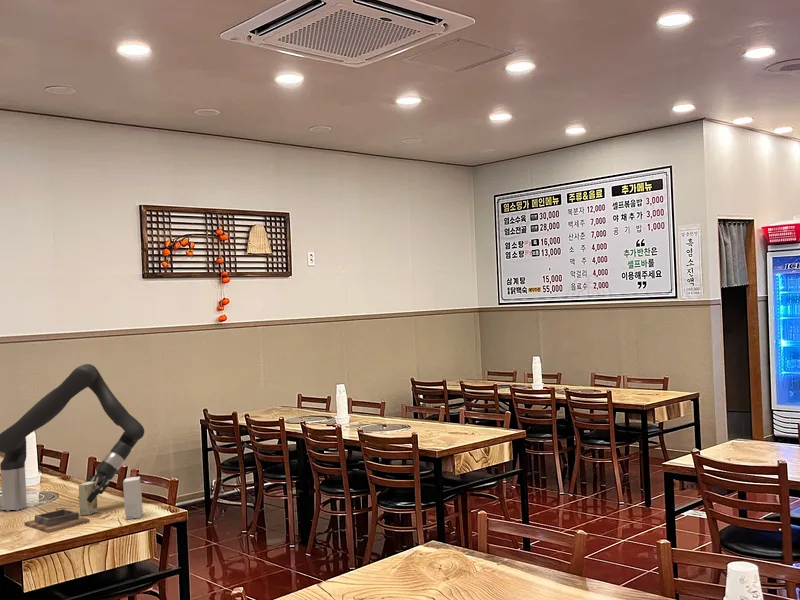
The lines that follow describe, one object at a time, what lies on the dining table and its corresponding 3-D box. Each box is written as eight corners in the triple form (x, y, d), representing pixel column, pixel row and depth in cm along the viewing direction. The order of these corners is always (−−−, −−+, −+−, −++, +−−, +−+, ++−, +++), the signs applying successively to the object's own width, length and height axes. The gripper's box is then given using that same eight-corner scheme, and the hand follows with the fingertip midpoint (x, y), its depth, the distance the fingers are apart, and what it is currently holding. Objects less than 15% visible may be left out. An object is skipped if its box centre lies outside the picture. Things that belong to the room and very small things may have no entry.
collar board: (24, 525, 304) (23, 515, 304) (64, 515, 317) (64, 506, 317) (48, 532, 291) (47, 522, 291) (89, 522, 303) (89, 512, 303)
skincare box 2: (141, 518, 305) (139, 479, 306) (124, 520, 304) (122, 481, 304) (143, 513, 314) (141, 475, 314) (127, 514, 312) (125, 477, 312)
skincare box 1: (89, 515, 314) (87, 484, 314) (79, 515, 315) (77, 484, 315) (98, 511, 321) (96, 481, 321) (88, 511, 321) (87, 481, 322)
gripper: (95, 458, 328) (68, 493, 319) (112, 461, 319) (86, 497, 310) (107, 469, 332) (82, 503, 323) (125, 472, 323) (99, 507, 314)
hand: (84, 500), depth 317 cm, fingers closed on skincare box 1, 6 cm apart
